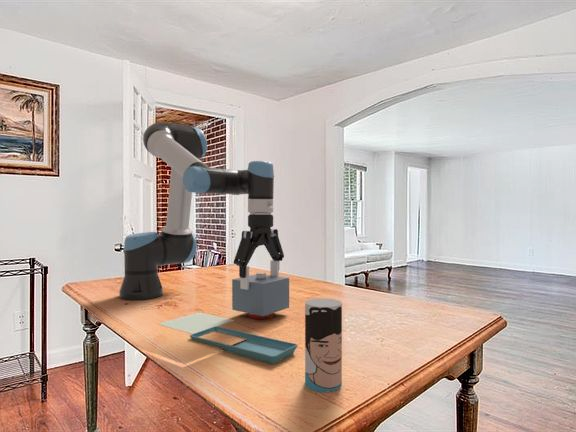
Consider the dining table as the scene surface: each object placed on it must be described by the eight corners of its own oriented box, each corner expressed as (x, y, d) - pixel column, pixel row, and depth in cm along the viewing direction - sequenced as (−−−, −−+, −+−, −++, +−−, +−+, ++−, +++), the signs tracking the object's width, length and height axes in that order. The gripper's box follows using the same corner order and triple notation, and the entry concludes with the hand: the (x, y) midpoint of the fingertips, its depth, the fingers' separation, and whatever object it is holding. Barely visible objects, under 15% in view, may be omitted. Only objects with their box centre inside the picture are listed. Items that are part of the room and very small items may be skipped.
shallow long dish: (188, 343, 95) (188, 333, 95) (216, 333, 102) (215, 324, 102) (273, 368, 80) (273, 356, 80) (298, 355, 87) (298, 344, 87)
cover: (232, 309, 115) (232, 274, 115) (259, 302, 124) (258, 269, 124) (263, 316, 108) (263, 278, 107) (289, 307, 117) (289, 272, 117)
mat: (157, 325, 108) (157, 323, 108) (199, 314, 120) (199, 312, 120) (193, 336, 99) (193, 333, 99) (234, 322, 111) (234, 320, 111)
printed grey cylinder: (307, 392, 68) (307, 307, 68) (303, 376, 75) (303, 298, 75) (345, 391, 69) (345, 306, 68) (338, 375, 75) (338, 298, 75)
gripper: (240, 214, 103) (240, 294, 104) (295, 213, 123) (294, 280, 124) (221, 214, 108) (220, 290, 108) (276, 213, 128) (276, 277, 128)
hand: (260, 285), depth 116 cm, fingers open, 13 cm apart
